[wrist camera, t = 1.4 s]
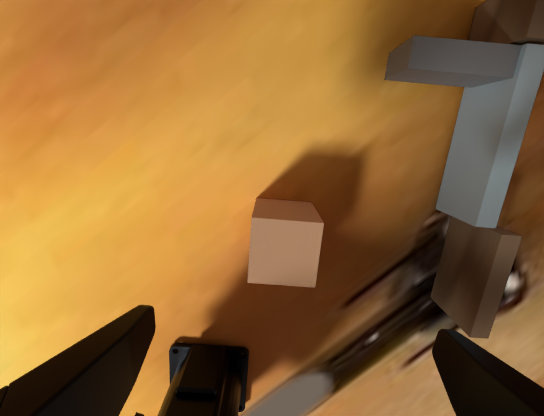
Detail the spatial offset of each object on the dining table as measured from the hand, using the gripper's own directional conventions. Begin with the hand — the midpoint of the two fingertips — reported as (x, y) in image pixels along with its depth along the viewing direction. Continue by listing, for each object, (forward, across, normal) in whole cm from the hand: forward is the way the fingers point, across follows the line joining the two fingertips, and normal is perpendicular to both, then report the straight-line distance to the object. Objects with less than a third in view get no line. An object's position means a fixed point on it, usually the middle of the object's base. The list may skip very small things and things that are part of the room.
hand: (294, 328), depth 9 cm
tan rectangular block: (+12, 0, +2) cm, 12 cm away
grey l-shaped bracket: (+12, -9, -5) cm, 16 cm away
